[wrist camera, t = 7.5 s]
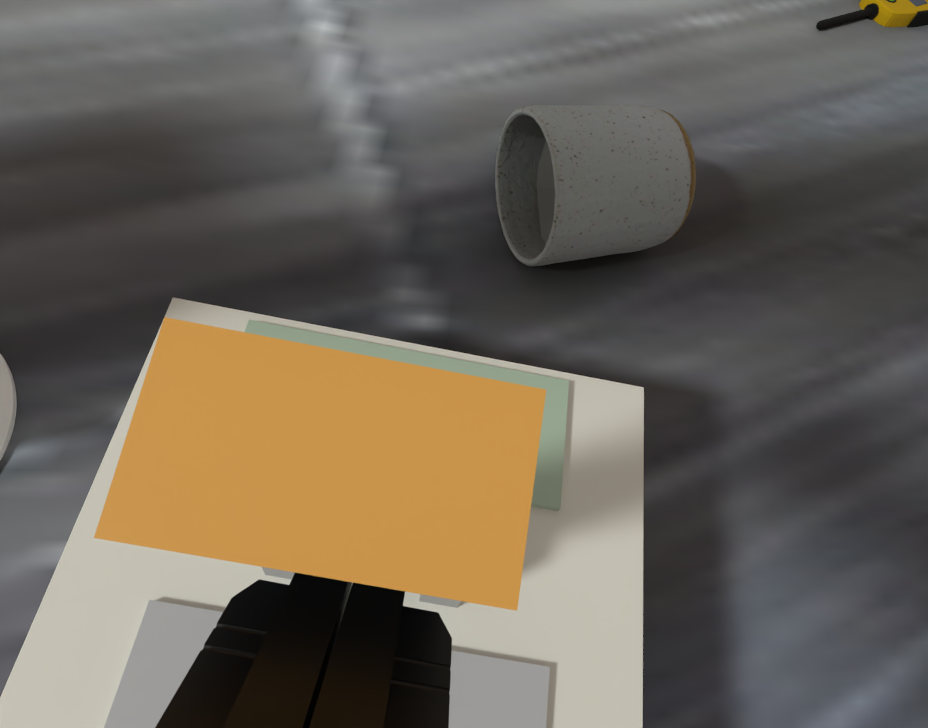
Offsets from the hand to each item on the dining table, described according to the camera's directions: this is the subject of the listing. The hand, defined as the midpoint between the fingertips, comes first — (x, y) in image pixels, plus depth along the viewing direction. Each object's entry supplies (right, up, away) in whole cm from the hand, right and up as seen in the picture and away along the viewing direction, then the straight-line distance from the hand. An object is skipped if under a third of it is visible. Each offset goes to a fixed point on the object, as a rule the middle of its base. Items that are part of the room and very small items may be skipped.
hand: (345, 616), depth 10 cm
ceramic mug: (+7, +12, +29) cm, 32 cm away
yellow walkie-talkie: (+34, +30, +45) cm, 64 cm away
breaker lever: (-1, -2, +11) cm, 12 cm away
